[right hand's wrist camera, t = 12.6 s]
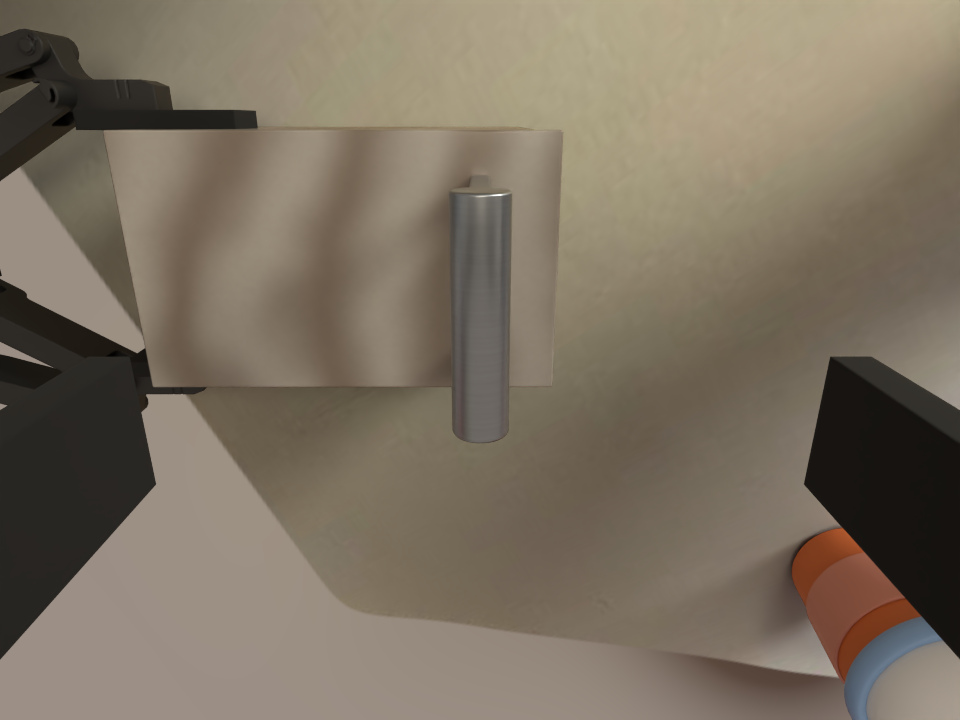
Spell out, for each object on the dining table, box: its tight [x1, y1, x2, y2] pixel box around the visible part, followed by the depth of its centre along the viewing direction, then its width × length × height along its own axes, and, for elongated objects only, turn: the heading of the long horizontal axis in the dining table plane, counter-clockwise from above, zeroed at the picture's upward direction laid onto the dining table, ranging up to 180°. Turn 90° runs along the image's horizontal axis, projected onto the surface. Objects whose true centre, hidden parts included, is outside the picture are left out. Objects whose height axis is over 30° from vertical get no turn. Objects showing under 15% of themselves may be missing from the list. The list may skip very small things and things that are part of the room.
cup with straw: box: [792, 528, 960, 720], centre depth 35 cm, size 9×9×18 cm
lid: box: [103, 130, 563, 443], centre depth 22 cm, size 17×10×8 cm, turn 90°
